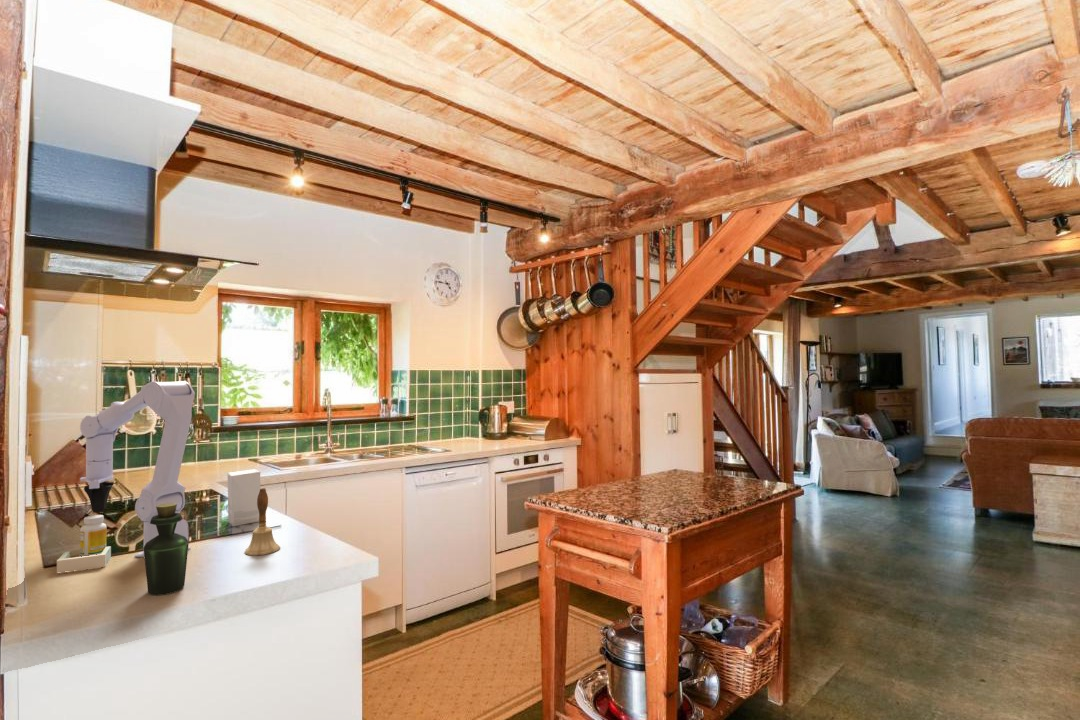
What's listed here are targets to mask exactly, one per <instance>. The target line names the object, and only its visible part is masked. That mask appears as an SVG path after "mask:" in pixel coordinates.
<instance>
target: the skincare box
mask: <svg viewBox="0 0 1080 720" xmlns="http://www.w3.org/2000/svg"><path fill="white" fill-rule="evenodd" d="M260 489H261V471H259V470H257V469H253V468H252V469H247V470H239V471H234V472H233V471H231V472H230V471H229V472H227V514H228V515H227V518H228V519H227V520H228V521H227V522H228V523H229V524H230V526H232V527H236V526H242V525H247V524H253V523H259V510H258V507H257V498H258V494H259V492H260Z"/></svg>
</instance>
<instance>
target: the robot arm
mask: <svg viewBox="0 0 1080 720" xmlns="http://www.w3.org/2000/svg"><path fill="white" fill-rule="evenodd" d="M195 396H196V392H195V390H194V389H193V387H192V386H191V384H190V383H189V382H188V381H185V380H180V381H179V380H178V381H150V382H147V383H146V384H145V385H142V386H141V388H140V391H138V392H137V393H135V394H134V395H133V396H132V397H130V398H129V399H128V400H127V401H125V402H124V401H112V402H111V403H110V406H109V407H107V408H106V409H102V410H100V411H99V412H98V413H97V414H96V415H86V416H84V418H82V420H81V422H80V425H79V427H80V428H79V429H80V432H81V435H82V436H83V437H84V438H85V476H84V477H80V478H79V480H80V482H86V483H88V485H85V486H84V487H83V491H84V492H85V494H86V495H87V497H88V500H89V503H90V507H91V510H92V513H93V514H96V513H103V512H104V511H105V510H106V508H107V504H108V499H109V496H110V492H111V490H112V488H113V486H114V484H115V481H112V480H113V479H114V477H115V476H114V467H113V464H114V448H113V447H114V442H115V440H116V435H117V433H118V431H119V428H121V427H122V426H124V425H125V424H127V423H129V422H130V421H131V420H133V418H135V413H137V412H139V411H141V410H142V409H144V408H146V407H148V408H150V409H151V410H152V411H153V412H154V413H155V414H156V415H157V416H158V417H160V418H162V420H164V426H163V430H162V435H161V439H160V443H159V444H160V445H159V449H158V454H157V457H156V462H155V466H154V473H153V476H152V480H151V481H150V482H149V483H148V484H146V485H145V486H144V487H143V488H142V489H141V491H140V495H139V497H138V498H137V499H136V502H135V505H134V512H135V514H136V516H137V517H138V518H139V520H140V522H143V547H144V546H145V544H146V543H147V542H148V541H150V540H151V539H153V538H154V537H156V536H158V535H159V534H158V531H157V527H156V525H154V524H150V521H151V519H152V517H153V516H156V515H158V513H157V508H156V506H157V505H159V504H164V503H177V507H176V511H175V513H180V514H181V511H182V510H183V509H184V507H185V504H186V497H185V491H186V487H185V486H184V485H183V484H182V483H181V482H179V475H180V471H181V467H182V463H183V458H184V454H185V448H186V444H187V441H188V440H187V439H188V436H189V432H190V427H191V422H192V416H193V415H192V414H193V413H192V409H193V405H194V400H195ZM110 480H111V481H110ZM174 533H177V534H179V535H182V536H185V537H186V538H187V540H188V541H189V523H188V521H187V520H186V519H184V518H182V520H181V521H179V522H177V525H176V528H175V532H174ZM191 548H192V547H191V546H188V550H191ZM134 557H135V558H144V550H143V551H141V552H139V553H135V554H134Z"/></svg>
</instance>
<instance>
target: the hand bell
mask: <svg viewBox="0 0 1080 720" xmlns="http://www.w3.org/2000/svg"><path fill="white" fill-rule="evenodd" d="M268 505H269V496H268V493H267V490H266V488H265V487H264V488H260V492H259V494H258V498H257V507H258V510H259V522H258V526H257V528H256V529H254V530H253V531H252V536H251V540H250V544H249V545H248V546H247V547H246V549H245V551H244V554H245V555H246V554H247V556H264V555H270V554H272V553H275V551H276V552H277V551H279V550H280V549H281V546H280V545H279V543H277V542H276V541H275V539H274V535H273V530H272V528H271V527H268V526H267V516H266V515H267V514H266V513H267V511H268V510H267V509H268Z"/></svg>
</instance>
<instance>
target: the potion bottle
mask: <svg viewBox="0 0 1080 720" xmlns="http://www.w3.org/2000/svg"><path fill="white" fill-rule="evenodd" d="M176 507H177V503H164V504H159V505H157V506H156V508H157V513H158V515H156V516H153V517H152V519H151V521H150V524H154V525H156V527H157V531H158V534H159V535H158V536H156V537H154V538H153V539H151V540H150V541H148V542H147V543H146V544H145V546H144V545H143V551H144V557H143V558H144V565H145V566H144V567H145V576H146V584H147V585H146V586H147V587H146V588H147V593H148V594H149V595H150V596H151V595H152V596H161V595H162V596H164V595H169V594H172V593H176V592H178V591H180V590H182V589H183V588H184V586H185V582H186V581H185V580H186V572H187V564H188V562H187V561H188V553H189V549H188V547H189V546H190V544H189V543H190V541H189V539H188V540H187V538H186V537H185V536H182V535H179V534H177V533H174V532H175V528H176V525H177V522H179V521H181V520H182V519H183V517H182V514H181V512H180V513H175V511H176Z"/></svg>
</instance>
